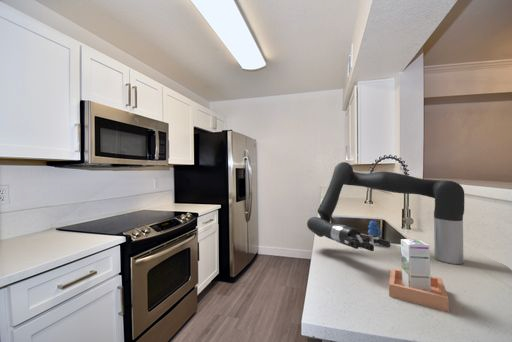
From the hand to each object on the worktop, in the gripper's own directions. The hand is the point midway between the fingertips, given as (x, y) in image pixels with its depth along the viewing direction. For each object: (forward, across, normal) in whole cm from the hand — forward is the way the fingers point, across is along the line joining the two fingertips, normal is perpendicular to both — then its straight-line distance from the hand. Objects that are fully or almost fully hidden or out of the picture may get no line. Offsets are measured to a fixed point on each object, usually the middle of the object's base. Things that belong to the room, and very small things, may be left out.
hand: (381, 246), depth 78 cm
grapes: (-26, +33, +11) cm, 43 cm away
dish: (+11, 0, +11) cm, 15 cm away
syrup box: (+11, 0, +10) cm, 15 cm away
